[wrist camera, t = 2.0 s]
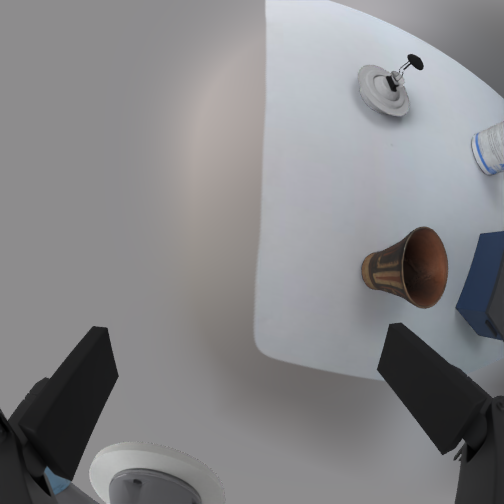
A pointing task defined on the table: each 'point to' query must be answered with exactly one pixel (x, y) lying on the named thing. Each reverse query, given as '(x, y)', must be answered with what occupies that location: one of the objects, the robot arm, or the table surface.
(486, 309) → the storage box
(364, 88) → the round stand with stem
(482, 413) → the robot arm
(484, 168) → the supplement tub
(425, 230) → the cup
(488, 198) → the table surface
